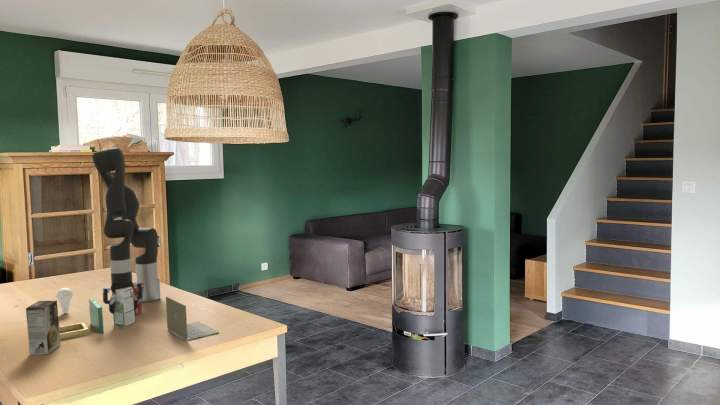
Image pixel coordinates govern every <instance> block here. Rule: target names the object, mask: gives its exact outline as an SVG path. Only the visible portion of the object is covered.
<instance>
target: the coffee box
mask: <svg viewBox="0 0 720 405" xmlns="http://www.w3.org/2000/svg"><path fill="white" fill-rule="evenodd" d="M25 312H26V325H27V326H26V327H27V340H28V349H29V351H28V352H29V355H30V356H33V355H34V356H35V355H38V356H39V355H49V354H51V353H52V352H53V351H54V350H56V349H57V348H58V347H60V345H61V340H60V333H61V332H60V333H59V327H60V321H59V311H58V300H38V301H36V302H35V303H33V304H31V305H29V306H27V307H26V308H25Z"/></svg>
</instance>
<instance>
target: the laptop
mask: <svg viewBox="0 0 720 405" xmlns="http://www.w3.org/2000/svg"><path fill="white" fill-rule="evenodd" d="M165 308H166V327H167V330H168V331H169V332H171V333H173V334H174V335H176V336H177V337H179V338H181V339H182V340H185V341H186V342H189V341H193V340H197V339H202V338H205V337H209V336H211V335H215V334H219V333H220V331H219V330H216V329H214V328H212V327H211V326H208V325H206V324H204V323H203V322H200V321H194V322H190V323H188V322H187V305H185V304H183V303H181V302H178V301H177V300H175V299H173V298H170V297H169V296H165Z"/></svg>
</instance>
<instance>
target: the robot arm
mask: <svg viewBox="0 0 720 405" xmlns="http://www.w3.org/2000/svg"><path fill="white" fill-rule="evenodd" d="M92 160H93V164H94V166H95V168H96V170H97V172H98V174H99V176H100V177H101V179H102V180H103V182H104V184H105V186H106V187H107V191H106V194H105V207H106V217H105V218H106V219H105V223H104V225H103V234H104V236H105V237H106V238H108V239H122V238H123V239H122V241H121V242H118V243H114V244H112V245H111V246H110V247H109V254H110V280H111V285H110V287H103V288H102V301H103V304H105V305H108V311H109V313H110V314H112V315H113V314H114V304H113V303H114V301H115V300H116V299H117V292H118V291H117V292H116V290H117V289H121V288H127V287H132V288H134V287H135V288H136V289H137V296H135V295H134V294H133V293H132V292H131V291H130V294H131V297H132V298H133V299H134V310H136V308H137V307H138V304H137V300H138V299H139V298H142V289H141V284H140V283H144V289H143V302H147V303H148V302H154V301H157V300H160V299H161V285H160V284H161V282H160V281H161V280H160V278H159V275H158V274H159V271H158V255H159V253H158V252H159V248H158V247H159V245H158V244H159V242H158V241H159V238H158V233H157V230H156V229H155V228H154V227H140V226H139V225H138V224H139V223H138V222H137V215H138V212H139V210H140V202H139V199H138V198H137V195H136V193H135V191H134V190H133V189H132V188H131V187H130V186H128V185H127V184H125V182H126V180H125V179H126V161H125V156H124V153H123V151H122V150H121V148H119V147H110V148H107V149H101V150H97V151H94V152H93V154H92ZM112 172H114V175H113V173H112ZM119 218H121V219H119ZM131 245H132V246H133V247H134V248H136V249H144V250H145V251H144V253H143V254H140V255H137V256H136V257H135V259H134V260H135V276H136V279H135V280H136V283H137V284H133V283H134V282H133V270H132V269H133V267H132V261H131ZM129 290H130V289H129ZM110 291H111V293H112V292H113V293H114V294H115V295H114V296H112V295H111V296H110V298H109V295H108V294H109V293H110ZM108 298H109V299H108Z"/></svg>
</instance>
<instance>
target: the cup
mask: <svg viewBox="0 0 720 405" xmlns="http://www.w3.org/2000/svg"><path fill="white" fill-rule="evenodd" d="M132 283H133V284H137V282H132ZM140 284H141V289H142V298H139V299H138V300H137V304H138V307H137V308H136V310H134V314H135V315H140V314H141V313H142V311H143V289H144V283H140ZM133 294H134V295H135V296H137V289H136V288H135V287H134V288H133Z"/></svg>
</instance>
